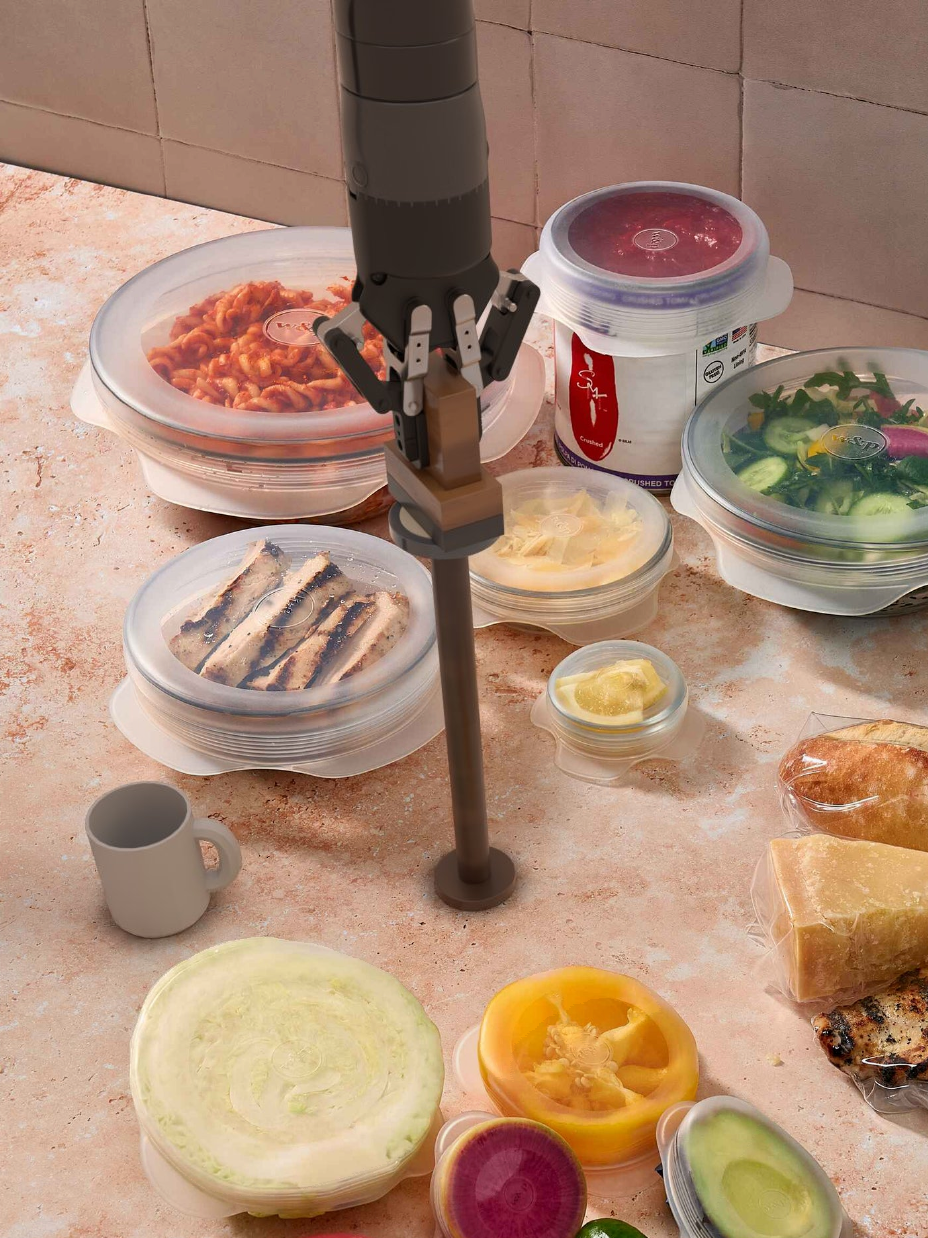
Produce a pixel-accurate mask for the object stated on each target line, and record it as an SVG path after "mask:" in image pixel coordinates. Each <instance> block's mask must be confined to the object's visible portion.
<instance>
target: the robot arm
mask: <svg viewBox="0 0 928 1238" xmlns="http://www.w3.org/2000/svg"><path fill="white" fill-rule="evenodd" d="M331 2H332V17H333V19H332V20H333V27H334V36H335V44H336V45H335V46H336V54H337V62H338V72H339V73H338V74H339V83H340V112H339V113H340V114H339V115H340V116H339V119H340V120H339V121H340V122H339V123H340V124H339V126H340V135H341V136H340V138H341V139H340V140H341V147H342V148H341V149H342V156H343V167H344V174H345V184H346V193H347V202H348V211H349V221H350V231H351V237H352V238H351V239H352V247H353V255H354V260H355V266H356V276H355V281H354V282H353V286H352V288H351V293H350V299H351V302H350V303H349V304H347V305H346V306H345V307H344V308H342V309H341V310H340V311H339V312H337V313H336V314H335V315H334V316H332V317H331V318H330V317H329V316H327V315H320V316H317V317H316V318H315V319H314V320H313V321H312V323H311V330H312V332H313V334H314V335H315V337H316V338H317V339H318V341H319V342H320V343H321V345H322V346H323V347H324V349H325V351H327V353H328V354H329V355H330V357H331V358H332V360H333V361H334V362H335V364H336V366H337V367H338V368H339V369H340V371H341V372H342V373H343V374H344V376H345V377H346V379H347V380H348V382H349V383H350V384H351V385H352V387H353V388H354V389H355V391H356V392H357V394H359V395H360V397H361V398H362V399H364V400H365V401H366V402H367V403H368V404H369V406H370V407H371V408H372V409H373V410H374V412H376V413H377V414H379V415H386V414H388V413H389V412H391V413H392V422H393V430H394V431H393V432H394V439H395V443H396V447H397V448H398V450H399V452H400V453H401V454H402V455H403V456H404V457H405V458H406V459H407V460H408V461H409V462H412V463H413V464H414V465H415V466H416V467H417V468H418V469H422V468H426V467H429V466H430V457H429V445H428V433H427V422H426V413H425V412H424V411H423V410H422V407H423V386H424V378H425V377H427V375H428V354H429V353H430V352H432V351H434V350H435V351H436V350H438V349H440V352H441V356H442V357H443V358H444V359H445V360H446V361H447V362H448V363H449V364H450V365H451V366H452V367H453V368H454V369H455V370H457V371H458V372H459V373H460V374H461V375H462V376H463V377H464V378H465V379H466V380H467V381H468V382H469V383H470V384H472V385H473V386H474V387H475V388H476V396H477V412H478V428H479V443H481V440H482V437H483V434H484V433H483V420H482V418H483V416H482V402H481V400H482V399H481V396H482V394H483V391H484V390H485V388H486V387H487V386H489V385H490V384H491V383H493V382H498V383H499V382H500V383H501V382H504V381H505V380H506V379H507V378H508V377H509V375H510V374H511V371H512V368H513V367H514V363H515V361H516V358H517V356H518V353H519V351H520V348H521V346H522V343H523V340H524V338H525V335H526V333H527V331H528V328H529V325H530V323H531V320H532V318H533V316H534V313H535V311H536V308H537V305H538V303H539V301H540V298H541V293H542V291H541V288H540V287H539V286H538V285H537V284H536V283H535V282H533V281H532V280H531V279H530V278H529V277H527V276H526V275H525V274H523V273H522V272H521V271H519V269H517V268H510V269H508V270H506V271H504V270H500V268H499V266H498V263H496V261H495V260H494V258H493V256H492V252H491V249H492V246H493V232H492V231H493V230H492V212H491V195H490V194H491V193H490V177H489V174H490V173H489V155H490V146H489V145H490V144H489V141H488V138H487V137H488V136H487V122H486V116H485V110H484V109H485V108H484V103H483V99H482V94H481V88H480V78H479V62H478V61H479V59H478V44H477V43H478V42H477V24H476V10H475V0H332V1H331ZM489 302H490V303H491V307H490V309H489V312H488V314H487V317H486V320H485V323H484V325H483V327H482V330H481V333H480V335H479V336H478V330H477V325H478V324H479V322H480V319H481V317H482V316H483V314H484V312H485V310H486V308H487V306H488V304H489ZM366 322H368V324H370V325H371V326H372V327H373V328H374V329H375V331H377V333H379V334H380V335H381V336H382V355H383V358H384V362H385V367H386V368H385V380H384V379H383V380H381V379H379V377H378V375H376V372H374V371H373V369H372V368H371V366H370V365H369V363H368V361H366V359H365V358H364V357H363V355H362V354H361V353H360V352H362V351H363V350H365V343H366V337H365V336H364V333H363V328H364V325H365V324H366Z"/></svg>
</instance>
